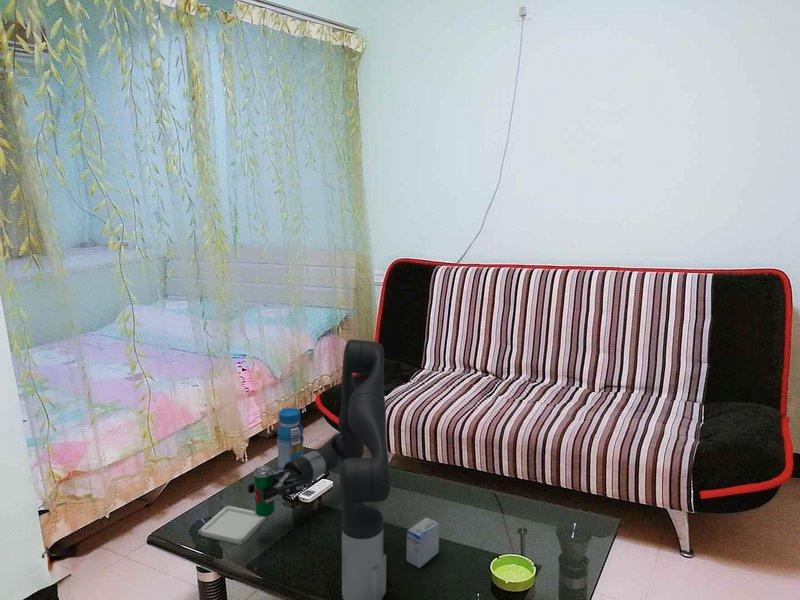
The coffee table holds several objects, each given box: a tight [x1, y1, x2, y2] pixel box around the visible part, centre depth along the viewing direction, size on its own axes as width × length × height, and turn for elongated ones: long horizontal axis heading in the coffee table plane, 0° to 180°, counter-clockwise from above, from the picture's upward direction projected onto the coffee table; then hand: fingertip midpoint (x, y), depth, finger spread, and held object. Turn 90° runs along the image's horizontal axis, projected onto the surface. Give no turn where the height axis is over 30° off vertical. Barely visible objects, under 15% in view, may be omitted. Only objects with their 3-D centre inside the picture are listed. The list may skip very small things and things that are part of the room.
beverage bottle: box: [276, 407, 305, 470], centre depth 192 cm, size 8×8×20 cm
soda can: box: [252, 465, 276, 517], centre depth 154 cm, size 5×5×12 cm
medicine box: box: [405, 517, 440, 569], centre depth 149 cm, size 8×4×9 cm, turn 141°
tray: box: [197, 505, 269, 546], centre depth 162 cm, size 13×13×2 cm
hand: (255, 493), depth 152 cm, fingers closed on soda can, 5 cm apart
